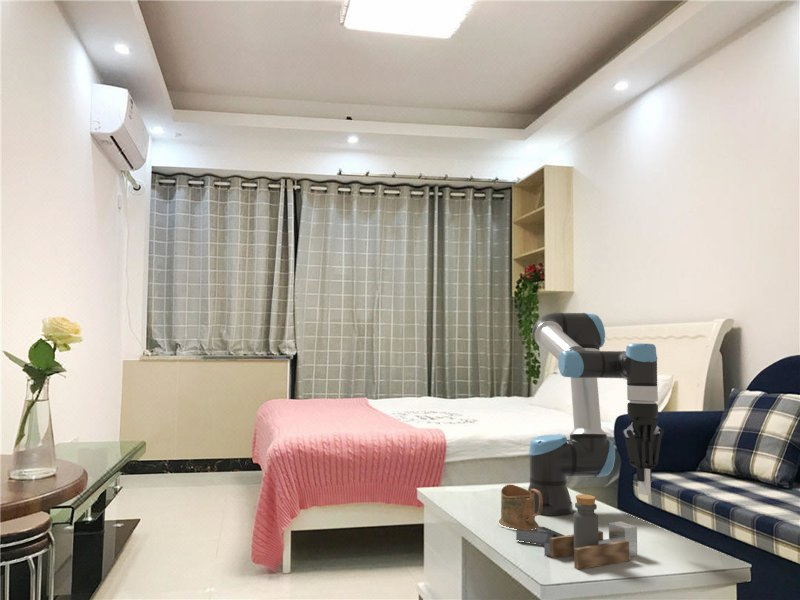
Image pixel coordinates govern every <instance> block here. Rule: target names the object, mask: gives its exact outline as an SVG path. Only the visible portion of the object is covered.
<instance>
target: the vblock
mask: <svg viewBox="0 0 800 600" xmlns="http://www.w3.org/2000/svg"><path fill="white" fill-rule="evenodd" d="M515 533H516V534H515V537H516V538H515V540H519V541H524V542H530V543H536V544H535V545H538V544H541V545H540V546H544V548H543V549H544V550H543V551H544V556H545V555H548V556H547V557H550V538H552V537H559V536H566V535H565V534H562V533H560V532H557V531H555V530H553V529H550V528H548V527H546V526H538V528H537V530H522V529H517V530H516V531H515Z"/></svg>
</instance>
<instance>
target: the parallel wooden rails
mask: <svg viewBox="0 0 800 600" xmlns="http://www.w3.org/2000/svg"><path fill="white" fill-rule="evenodd" d="M598 531H599V540H604V531H601V530H598ZM550 556H551V557H550ZM550 556H549V557H550V558H552V557H553V559H555V557H556V558H560V557H562V558H563V557H568V556H573V559H574V560H573V563H574V567H573V568H574V569H576V570H583V569H589V568H594V567H595V568H596V567H601V566H606V565H607V566H608V565H612V564H618V563H623V562H629V561H630V557H629V541H626V540H624V541H618V542H611V543H605V544H598V545H592V546H585V547H579V548H574V533H573V534H568V535H567V534H566V535H565V536H559V537H552V538H550Z"/></svg>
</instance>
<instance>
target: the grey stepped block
mask: <svg viewBox="0 0 800 600" xmlns="http://www.w3.org/2000/svg"><path fill="white" fill-rule="evenodd" d="M624 540H626V541H629V558H631V557H636V556H638V527H637V526H635V525H633V524H630V523H627V522H625V521H621V520H620V521H614V522H613V521H611V522H608V539H603V540H599V544H605V543H611V542H618V541H624Z"/></svg>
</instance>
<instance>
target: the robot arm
mask: <svg viewBox="0 0 800 600" xmlns="http://www.w3.org/2000/svg"><path fill="white" fill-rule="evenodd" d="M531 332H532V333H531V334H532V338H533V340H534V342H535V344H536V345H537V346H539V347H540V348H542V349H544V350H547V351H548V352H549V353H550V354H551V355H552V356H554V358H555V359H556V360H558V361H557V362H558V363H557V364H558V371H559V373H560V376H562V377H564V378H570V386H571V387H570V389H571V390H570V391H571V402H572V403H571V404H572V415H573V416H572V417H573V418H572V419H573V430H572V431H571V432H570V433H569V439H567V436H566V435H565V434H564V435H563V434H544V435H540V436H536V437H533V438H532V439H531V440H530V442H529V451H528V455H529V484H528V489H527V490H528V491H529V492H531V489H536V490H538V491H540V493H541V494H542V497H543V508H542V512H541V514H540V515H542V516H543V515H544V516H566V515H570V514H572V513H573V511H574V508H573V505H574V504H573V502H572V499H571V496H570V493H569V489H568V485H567V483H568V481H567V480H568V479H567V478H568V477H576V478H577V477H578V478H579V477H582V478H583V477H584V478H585V477H586V478H587V477H589V478H591V477H592V478H597V477H607V476H609V475H610V474H611V472H612V471H613V469H614V465H615V463H616V447H615V445H614V442H613V441H612V440H611V439H608V437H607V433H606V431H604V430H603V429H602V422H601V407H600V396H599V386H598V385H599V384H598V383H599V382H598V379H626V388H627V389H626V391H627V392H626V393H627V395H626V396H627V400H628V401H629V402H627V403H626V404H627V407H626V409H627V416H628V417H629V422H628V426H627V428H626V429H624V428H622V429H621V434H622V436H623V438H624V442H625V447H626V451H627V458H628V460H629V464H630V466H632V467H633V468H635V469H636V480H637V485H638V486H637V488H638V491H637V492H638V494H641V495H643V496H651V495H652V494H651V493H652V491H651V490H652V489H651V485H652V484H651V483H652V477H653V476H652V470H654V469H655V468H656V467H657V466H658V464H659V458H660V451H661V443H662V438H663V436H664V433H665V429H664V428H661V427H659V426H658V422H657V419H656V418H658V417H659V405H658V403H656V402H658V401H659V396H658V395H659V394H658V393H659V391H658V355H657V347H656V345H655V344H654V343H642V342H641V343H639V342H638V343H628V344H627V345H626V350H625V351H624V350H623V351H621V350H617V351H616V350H613V351H612V350H611V351H610V350H600V349H601V348H602V347H603V346H604V344H605V341H606V331H605V325H604V323H603V321H602V319H601V317H599V316H598V315H597V314H594V313H586V312H550V313H547V314H544V315H542V316H541V317H539V318H538V319H537V320H536V321H535V323H534V324H533V327H532V331H531ZM534 494H535V496H534V497H535V514H537V512H538V509H539V496H538V494H537V493H536V492H534Z"/></svg>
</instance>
